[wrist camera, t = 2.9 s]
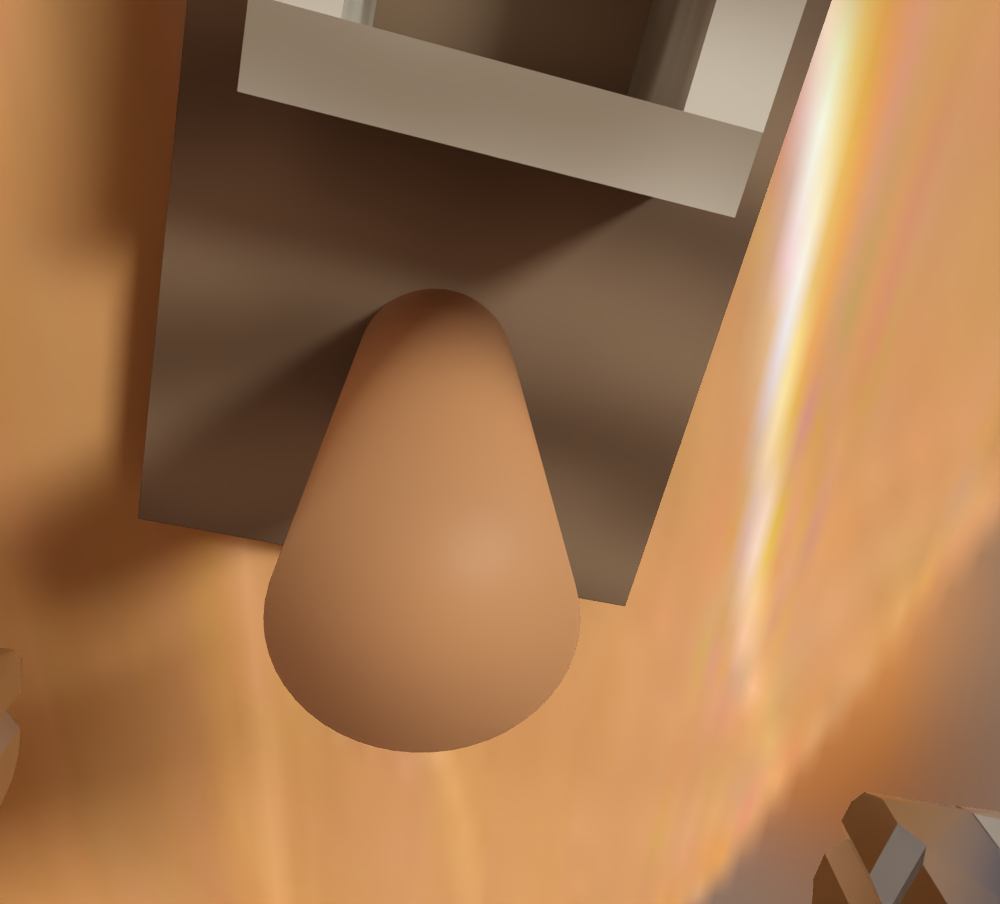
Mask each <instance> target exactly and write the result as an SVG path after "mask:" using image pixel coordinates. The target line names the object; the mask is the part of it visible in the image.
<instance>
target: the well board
mask: <svg viewBox="0 0 1000 904" xmlns="http://www.w3.org/2000/svg"><path fill="white" fill-rule="evenodd" d="M831 1H832V0H187V9H186V20H185V30H184V41H183V51H182V62H181V72H180V83H179V93H178V104H177V114H176V125H175V135H174V146H173V156H172V167H171V177H170V188H169V198H168V209H167V219H166V230H165V240H164V251H163V261H162V272H161V282H160V293H159V303H158V313H157V324H156V334H155V345H154V355H153V366H152V376H151V387H150V397H149V408H148V418H147V429H146V439H145V450H144V460H143V471H142V481H141V492H140V502H139V513H138V519H143V520H148V521H154V522H160V523H165V524H171V525H176V526H182V527H187V528H193V529H199V530H204V531H210V532H215V533H221V534H226V535H232V536H237V537H243V538H249V539H254V540H260V541H265V542H271V543H276V544H282V545H284V542H285V540H286V537H287V534H288V532H289V529H290V526H291V524H292V521H293V519H294V516H295V513H296V511H297V508H298V505H299V503H300V500H301V497H302V495H303V492H304V489H305V487H306V484H307V482H308V479H309V476H310V474H311V471H312V468H313V466H314V463H315V460H316V458H317V455H318V452H319V450H320V447H321V445H322V442H323V439H324V437H325V434H326V431H327V429H328V426H329V423H330V421H331V418H332V416H333V413H334V410H335V408H336V405H337V402H338V400H339V397H340V394H341V392H342V389H343V386H344V384H345V381H346V379H347V376H348V373H349V371H350V368H351V365H352V363H353V360H354V357H355V355H356V352H357V349H358V347H359V344H360V342H361V339H362V337H363V334H364V332H365V330H366V328H367V326H368V324H369V323H370V321H371V320H372V319H373V317H374V316H375V315H376V313H378V312H379V311H380V310H381V309H382V308H383V307H384V306H385V305H386V304H388V303H389V302H391V301H392V300H394V299H396V298H397V297H399V296H401V295H404V294H406V293H409V292H412V291H417V290H421V289H431V288H434V289H446V290H452V291H456V292H459V293H462V294H464V295H467V296H469V297H471V298H473V299H475V300H476V301H478V302H479V303H481V304H482V305H483V306H485V307H486V308H487V309H488V310H489V311H490V312H491V313H492V314H493V315H494V316H495V317H496V319H497V320H498V321H499V323H500V324H501V326H502V328H503V330H504V331H505V333H506V336H507V338H508V341H509V344H510V348H511V351H512V355H513V359H514V362H515V366H516V370H517V373H518V377H519V380H520V384H521V388H522V391H523V395H524V399H525V402H526V406H527V410H528V413H529V417H530V421H531V424H532V428H533V432H534V435H535V439H536V442H537V446H538V450H539V453H540V457H541V461H542V464H543V468H544V472H545V475H546V479H547V483H548V486H549V490H550V493H551V497H552V501H553V504H554V508H555V512H556V515H557V519H558V523H559V526H560V530H561V534H562V537H563V541H564V545H565V548H566V552H567V555H568V559H569V563H570V566H571V570H572V574H573V577H574V581H575V585H576V589H577V594H578V598H582V599H588V600H593V601H599V602H604V603H610V604H615V605H621V606H625V605H626V602H627V599H628V596H629V593H630V590H631V587H632V584H633V581H634V578H635V575H636V573H637V570H638V567H639V564H640V561H641V558H642V555H643V552H644V549H645V546H646V543H647V540H648V537H649V534H650V531H651V529H652V526H653V523H654V520H655V517H656V514H657V511H658V508H659V505H660V502H661V499H662V496H663V493H664V490H665V487H666V485H667V482H668V479H669V476H670V473H671V470H672V467H673V464H674V461H675V458H676V455H677V452H678V449H679V446H680V443H681V441H682V438H683V435H684V432H685V429H686V426H687V423H688V420H689V417H690V414H691V411H692V408H693V405H694V402H695V399H696V397H697V394H698V391H699V388H700V385H701V382H702V379H703V376H704V373H705V370H706V367H707V364H708V361H709V358H710V355H711V353H712V350H713V347H714V344H715V341H716V338H717V335H718V332H719V329H720V326H721V323H722V320H723V317H724V314H725V311H726V309H727V306H728V303H729V300H730V297H731V294H732V291H733V288H734V285H735V282H736V279H737V276H738V273H739V270H740V267H741V265H742V262H743V259H744V256H745V253H746V250H747V247H748V244H749V241H750V238H751V235H752V232H753V229H754V226H755V223H756V221H757V218H758V215H759V212H760V209H761V206H762V203H763V200H764V197H765V194H766V191H767V188H768V185H769V182H770V179H771V177H772V174H773V171H774V168H775V165H776V162H777V159H778V156H779V153H780V150H781V147H782V144H783V141H784V138H785V135H786V133H787V130H788V127H789V124H790V121H791V118H792V115H793V112H794V109H795V106H796V103H797V100H798V97H799V94H800V92H801V89H802V86H803V83H804V80H805V77H806V74H807V71H808V68H809V65H810V62H811V59H812V56H813V53H814V50H815V48H816V45H817V42H818V39H819V36H820V33H821V30H822V27H823V24H824V21H825V18H826V15H827V12H828V9H829V6H830V4H831Z"/></svg>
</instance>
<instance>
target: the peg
mask: <svg viewBox="0 0 1000 904" xmlns="http://www.w3.org/2000/svg"><path fill="white" fill-rule="evenodd" d="M263 619H264V633H265V639H266V644H267V648H268V652H269V655H270V658H271V660H272V663H273V665H274V668H275V670H276V672H277V674H278V675H279V677H280V679H281V681H282V682H283V684H284V686H285V687H286V688H287V689H288V691H289V692H290V693H291V695H292V696H293V697H294V698H295V700H296V701H297V702H298V703H299V704H300V705H301V706H302V707H303V708H304V709H305V710H306V711H307V712H309V713H310V714H311V715H312V716H314V717H315V718H316V719H318V720H319V721H320V722H322V723H323V724H325V725H326V726H328V727H330V728H331V729H333V730H335V731H336V732H338V733H340V734H342V735H344V736H347V737H349V738H351V739H353V740H356V741H358V742H362V743H365V744H368V745H371V746H374V747H379V748H384V749H389V750H393V751H404V752H439V751H448V750H454V749H459V748H463V747H468V746H472V745H475V744H478V743H481V742H484V741H487V740H489V739H491V738H494V737H496V736H498V735H500V734H502V733H504V732H506V731H508V730H510V729H511V728H513V727H515V726H516V725H518V724H519V723H521V722H522V721H524V720H525V719H526V718H528V717H529V716H530V715H531V714H533V713H534V712H535V711H536V710H537V709H538V708H539V707H540V706H541V705H542V704H543V703H544V702H545V701H546V700H547V699H548V698H549V697H550V696H551V695H552V693H553V692H554V691H555V689H556V688H557V687H558V685H559V684H560V682H561V681H562V679H563V677H564V675H565V674H566V672H567V670H568V668H569V666H570V663H571V661H572V658H573V656H574V653H575V650H576V645H577V641H578V637H579V628H580V606H579V598H578V594H577V589H576V585H575V581H574V577H573V574H572V570H571V566H570V563H569V559H568V555H567V552H566V548H565V545H564V541H563V537H562V534H561V530H560V526H559V523H558V519H557V515H556V512H555V508H554V504H553V501H552V497H551V493H550V490H549V486H548V483H547V479H546V475H545V472H544V468H543V464H542V461H541V457H540V453H539V450H538V446H537V442H536V439H535V435H534V432H533V428H532V424H531V421H530V417H529V413H528V410H527V406H526V402H525V399H524V395H523V391H522V388H521V384H520V380H519V377H518V373H517V370H516V366H515V362H514V359H513V355H512V351H511V348H510V344H509V341H508V338H507V336H506V333H505V331H504V330H503V328H502V326H501V324H500V323H499V321H498V320H497V319H496V317H495V316H494V315H493V314H492V313H491V312H490V311H489V310H488V309H487V308H486V307H485V306H483V305H482V304H481V303H479V302H478V301H476V300H475V299H473V298H471V297H469V296H467V295H464V294H462V293H459V292H456V291H452V290H446V289H434V288H431V289H421V290H417V291H412V292H409V293H406V294H404V295H401V296H399V297H397V298H396V299H394V300H392V301H391V302H389V303H388V304H386V305H385V306H384V307H383V308H382V309H381V310H380V311H379V312H378V313H376V315H375V316H374V317H373V319H372V320H371V321H370V323H369V324H368V326H367V328H366V330H365V332H364V334H363V337H362V339H361V342H360V344H359V347H358V349H357V352H356V355H355V357H354V360H353V363H352V365H351V368H350V371H349V373H348V376H347V379H346V381H345V384H344V386H343V389H342V392H341V394H340V397H339V400H338V402H337V405H336V408H335V410H334V413H333V416H332V418H331V421H330V423H329V426H328V429H327V431H326V434H325V437H324V439H323V442H322V445H321V447H320V450H319V452H318V455H317V458H316V460H315V463H314V466H313V468H312V471H311V474H310V476H309V479H308V482H307V484H306V487H305V489H304V492H303V495H302V497H301V500H300V503H299V505H298V508H297V511H296V513H295V516H294V519H293V521H292V524H291V526H290V529H289V532H288V534H287V537H286V540H285V542H284V545H283V548H282V550H281V553H280V556H279V558H278V561H277V563H276V566H275V569H274V571H273V574H272V577H271V579H270V582H269V586H268V590H267V594H266V598H265V605H264V617H263Z"/></svg>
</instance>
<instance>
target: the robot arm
mask: <svg viewBox="0 0 1000 904" xmlns="http://www.w3.org/2000/svg"><path fill="white" fill-rule="evenodd" d="M21 689H22V658H21V657H20V656H19V655H18V654H17V653H16V652H15V651H14V650H10V649H4V648H0V807H1V805H2V802H3V800H4V798H5V795H6V793H7V790H8V788H9V786H10V783H11V781H12V779H13V776H14V772H15V767H16V763H17V758H18V753H19V744H20V727H19V726H18V725H17V723H16V722H15V721H14V719H13V718H12V717H11V715H10V714H9V713H8V711H7V710H6V709H7V708H8V707H9V705H10V704H11V703H12V701H13V700H14V699H15V697H16V696H17V695H18V693H19V692H20V691H21ZM842 824H843V827H844V831H845V834H846V837H847V839H846V840H845V841H843V842H842V843H840V844H839V845H837V846H836V847H834V848H832V849H831V850H829V851H828V852H826V853H825V854H824V856H823V859H822V861H821V863H820V865H819V867H818V870H817V872H816V874H815V876H814V879H813V896H812V904H1000V812H998V811H990V810H984V809H977V808H970V807H963V806H955V807H952V806H948V805H942V804H935V803H929V802H923V801H917V800H910V799H904V798H897V797H892V796H885V795H878V794H873V793H866V792H864V793H863V794H861V795H860V796H859V797H858V798H856V799H855V800H854V801H852V802H851V804H850V806H849V807H848V810H847V811H846V813H845V815H844V817H843V819H842Z"/></svg>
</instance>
